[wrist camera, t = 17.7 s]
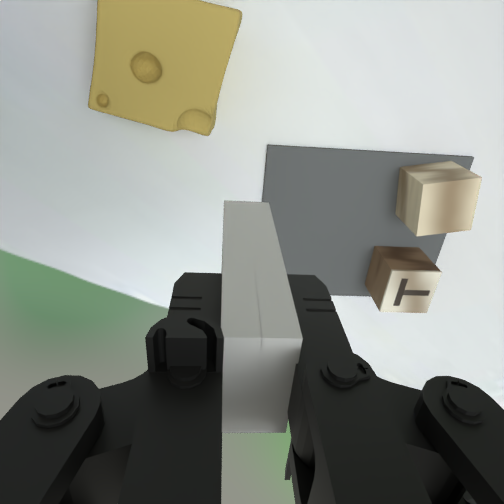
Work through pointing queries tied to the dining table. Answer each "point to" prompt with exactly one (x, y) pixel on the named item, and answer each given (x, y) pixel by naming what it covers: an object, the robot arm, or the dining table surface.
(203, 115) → the cheese
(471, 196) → the maple block
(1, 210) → the dining table surface
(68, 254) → the dining table surface
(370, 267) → the walnut block
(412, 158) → the rubber mat
